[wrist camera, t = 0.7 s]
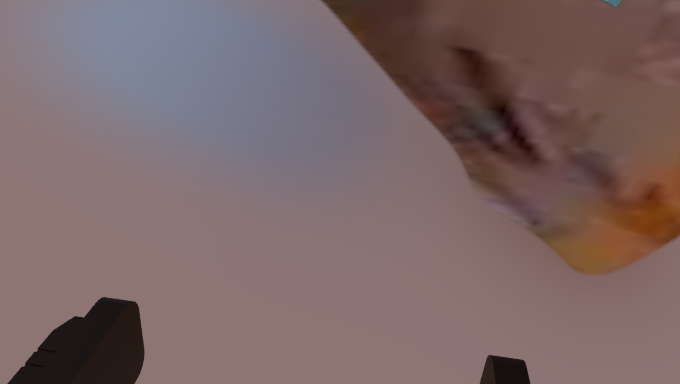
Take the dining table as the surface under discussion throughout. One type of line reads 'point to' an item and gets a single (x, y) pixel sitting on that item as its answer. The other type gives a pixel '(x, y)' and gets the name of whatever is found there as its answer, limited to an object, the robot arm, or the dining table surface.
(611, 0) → the teal mark
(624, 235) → the dining table surface
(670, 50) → the dining table surface
